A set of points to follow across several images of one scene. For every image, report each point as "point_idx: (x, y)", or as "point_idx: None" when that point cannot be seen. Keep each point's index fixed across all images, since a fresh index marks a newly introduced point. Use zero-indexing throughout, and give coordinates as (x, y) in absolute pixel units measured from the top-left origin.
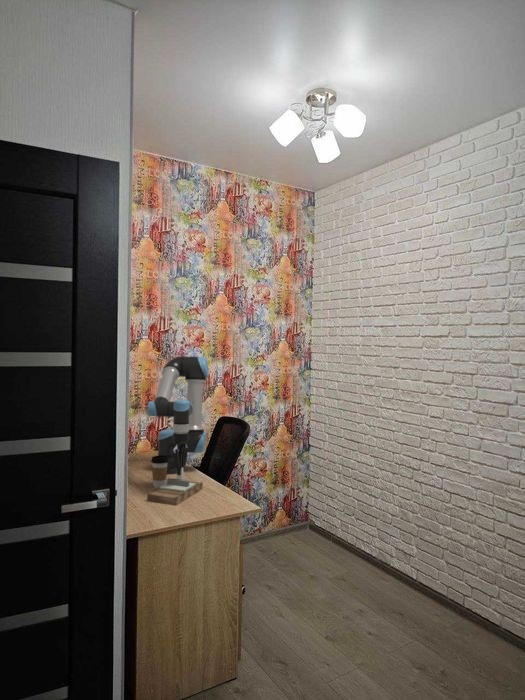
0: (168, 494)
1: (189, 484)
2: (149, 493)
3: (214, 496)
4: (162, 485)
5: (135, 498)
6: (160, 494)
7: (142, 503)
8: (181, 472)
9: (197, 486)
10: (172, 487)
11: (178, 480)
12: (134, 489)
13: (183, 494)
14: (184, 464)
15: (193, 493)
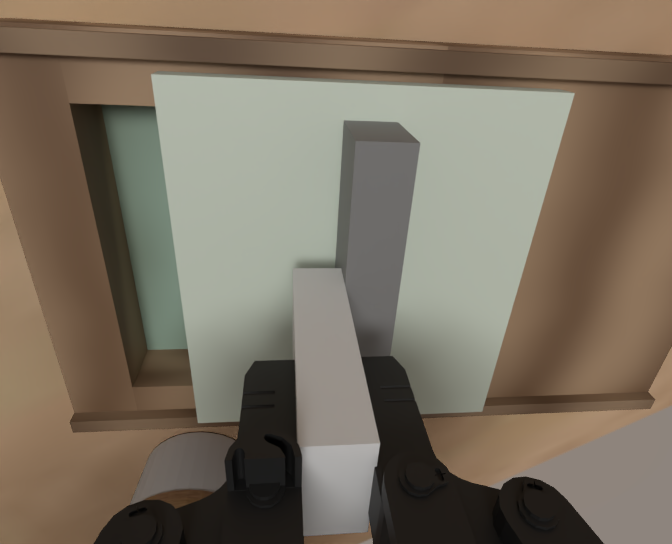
0: (644, 239)
1: (262, 155)
2: (640, 397)
3: None
4: (221, 449)
5: (550, 448)
6: (645, 309)
7: (665, 361)
8: (362, 377)
9: (173, 30)
10: (473, 296)
11: (396, 310)
12: (355, 539)
13: (643, 57)
14: (184, 531)
15: (316, 35)
